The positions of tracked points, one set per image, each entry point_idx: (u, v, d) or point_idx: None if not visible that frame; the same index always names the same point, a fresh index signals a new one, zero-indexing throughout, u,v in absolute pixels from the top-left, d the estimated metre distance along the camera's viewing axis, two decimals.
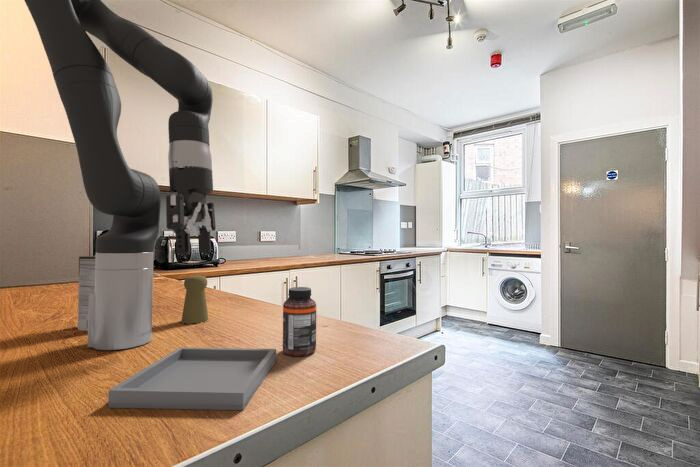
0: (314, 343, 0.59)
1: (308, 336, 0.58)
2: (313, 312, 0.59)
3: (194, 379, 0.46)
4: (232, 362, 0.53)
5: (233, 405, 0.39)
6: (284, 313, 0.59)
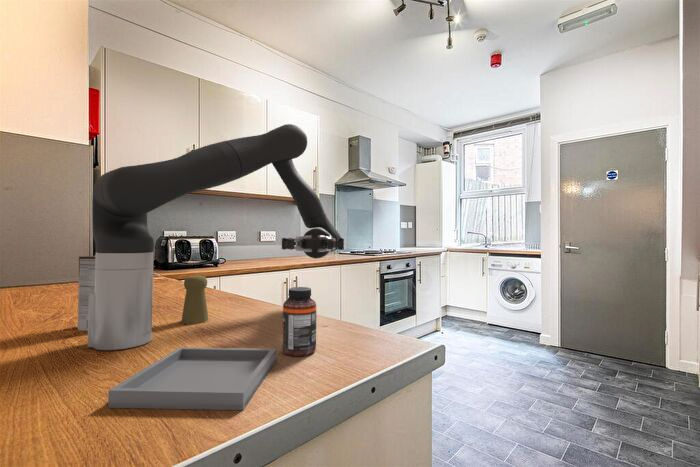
0: (314, 343, 0.59)
1: (308, 336, 0.58)
2: (313, 312, 0.59)
3: (194, 379, 0.46)
4: (232, 362, 0.53)
5: (233, 405, 0.39)
6: (284, 313, 0.59)
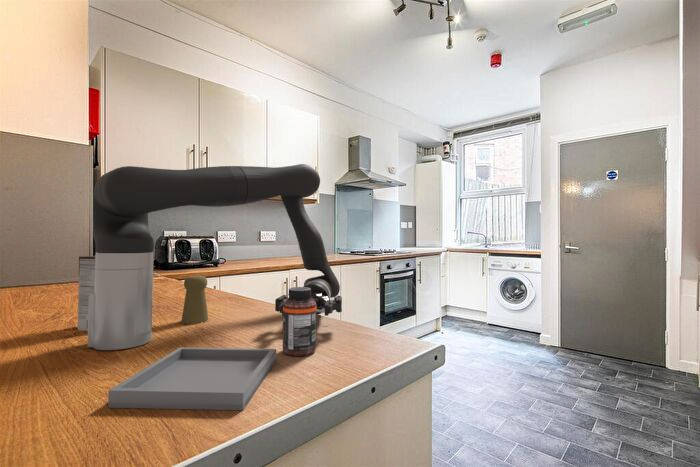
0: (314, 343, 0.59)
1: (308, 336, 0.58)
2: (313, 312, 0.59)
3: (194, 379, 0.46)
4: (232, 362, 0.53)
5: (233, 405, 0.39)
6: (284, 313, 0.59)
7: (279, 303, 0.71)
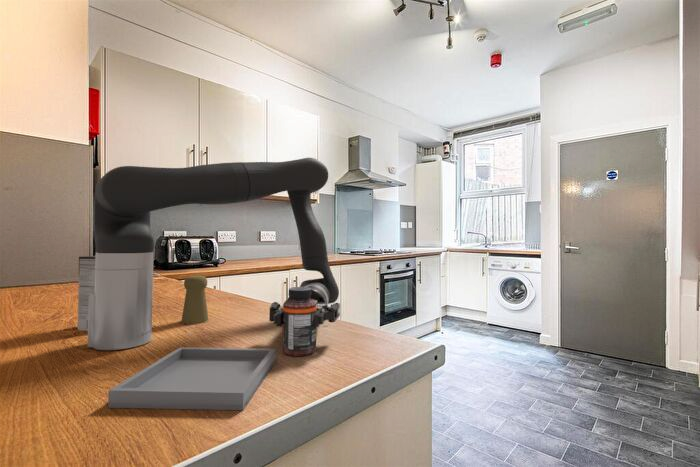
0: (314, 343, 0.59)
1: (308, 336, 0.58)
2: (313, 312, 0.59)
3: (194, 379, 0.46)
4: (232, 362, 0.53)
5: (233, 405, 0.39)
6: (284, 313, 0.59)
7: (275, 312, 0.62)
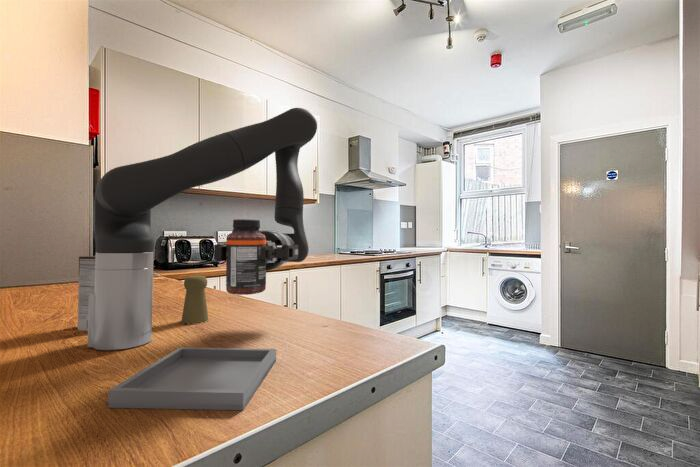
0: (262, 281, 0.51)
1: (253, 272, 0.50)
2: (260, 245, 0.51)
3: (194, 379, 0.46)
4: (232, 362, 0.53)
5: (233, 405, 0.39)
6: (227, 246, 0.51)
7: None
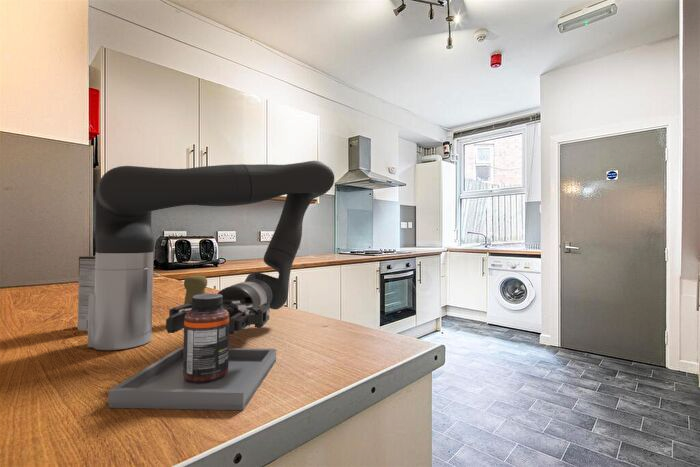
0: (223, 365, 0.47)
1: (212, 357, 0.45)
2: (221, 326, 0.46)
3: None
4: (232, 362, 0.53)
5: (233, 405, 0.39)
6: (184, 327, 0.46)
7: (173, 315, 0.50)
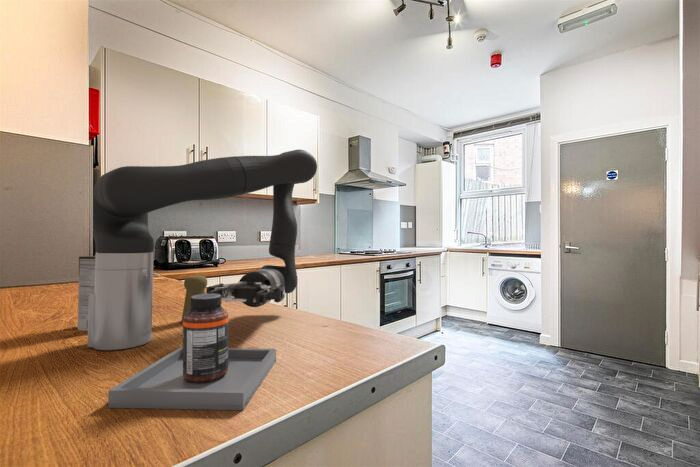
0: (223, 365, 0.47)
1: (212, 357, 0.45)
2: (221, 326, 0.46)
3: None
4: (232, 362, 0.53)
5: (233, 405, 0.39)
6: (183, 328, 0.46)
7: None
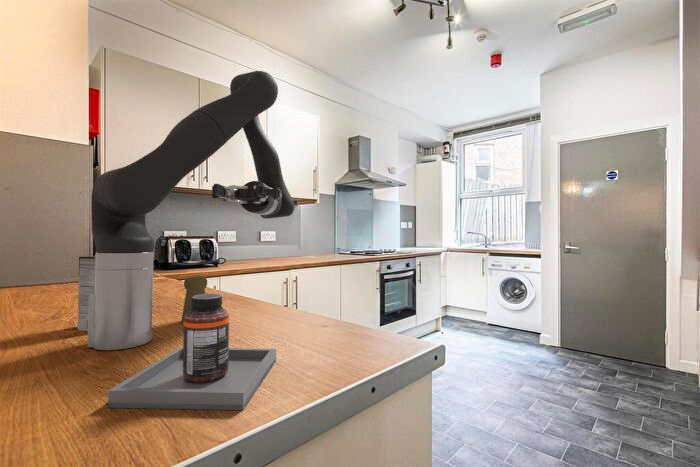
0: (223, 365, 0.47)
1: (212, 357, 0.45)
2: (221, 326, 0.46)
3: None
4: (232, 362, 0.53)
5: (233, 405, 0.39)
6: None
7: None
